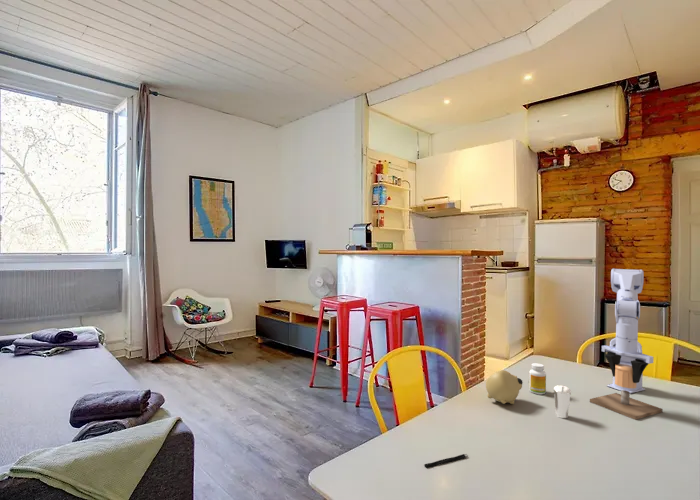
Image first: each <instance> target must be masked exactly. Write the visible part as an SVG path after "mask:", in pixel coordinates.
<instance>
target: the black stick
mask: <svg viewBox="0 0 700 500" xmlns="http://www.w3.org/2000/svg"><path fill="white" fill-rule="evenodd" d="M467 457H469V455H468V454H467V453H463V454H459V455H456V456H451V457H446V458H443V459H439V460H436V461H432V462H428V463H425V464H423V466H424V468H425V469H430V468H432V467H437V466H439V465H442V464H449V463H453V462H456V461H459V460H462V459H466V458H467Z"/></svg>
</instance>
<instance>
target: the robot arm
mask: <svg viewBox="0 0 700 500" xmlns="http://www.w3.org/2000/svg"><path fill="white" fill-rule="evenodd" d="M644 274H645V273H644V270H643V269H630V268H629V269H626V268H625V269H623V268H614V267H613V268H612V269H611V271H610V285H611V290H612V292H614V293H616V301H615V304H614V317H615V323H616V324H615V337H614V338H612V339H611V340H610V341H609V345H606V344H605V345H601V352H603V353H606V354H604V357H605V359H606V360H607V362H608V364H609V367H610V370H611V374H612V383H609V384H607V385H606V387H608V388H612V389H615V390H618V391H620V392H621V390H625V391H629V392H630V394H633V393H638V392H641V391H645V390H646V388H644V387H643V374H644V370H645V369H646V368H647V366H648V365H649V364H653V363H654V356H653V355H648V354H645V353H643V348H642V347H643V346H642V344H641V343H640V342H639V341H638V340H639V338H638V336H639V334H638V333H639V319H640V316H641V304H640V303H641V302H640V301H639V299H638V296H639V295H638V294H641V293H642V291H643V287H644V278H645V277H644ZM616 364H626V365H630V366H632V369H633V383H636V388H625V387H621V386H618V385H616V384H615V365H616Z"/></svg>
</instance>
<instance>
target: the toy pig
mask: <svg viewBox="0 0 700 500" xmlns="http://www.w3.org/2000/svg"><path fill="white" fill-rule="evenodd" d="M523 383H524V382H523V380H522V379H521V378H520V377H518V376H517V375H514V374H511V372H509V371H507V370H498V371H494V373H492V374H490V375H489V376H488V378H487V379H486V381H485V388H486V391H487V392H486V393H487V395H486V396H487V398H488V399H491V400H492V399H493V400H495V401H497V402H499V403H501V404H506V403H509V404H511V405H514V404H515V400H516V399H517V398H518V396H519V393H520V390H521V389H522V388H523Z"/></svg>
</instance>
